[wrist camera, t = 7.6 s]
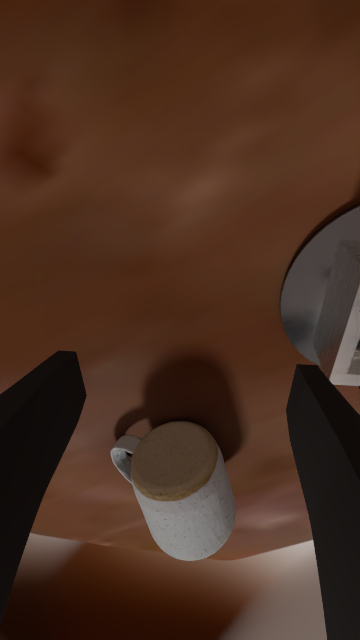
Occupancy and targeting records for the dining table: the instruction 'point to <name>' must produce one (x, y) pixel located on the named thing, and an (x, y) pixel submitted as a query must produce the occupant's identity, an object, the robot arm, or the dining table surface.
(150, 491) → the ceramic mug
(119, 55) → the dining table surface
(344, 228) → the press
